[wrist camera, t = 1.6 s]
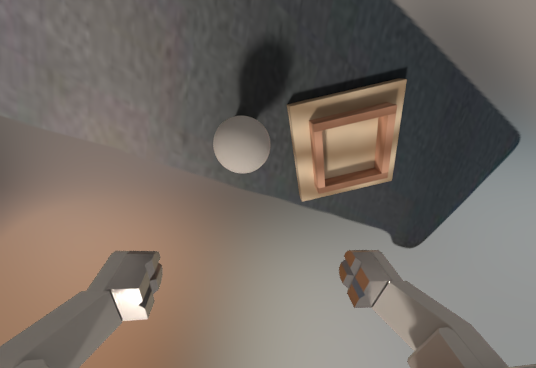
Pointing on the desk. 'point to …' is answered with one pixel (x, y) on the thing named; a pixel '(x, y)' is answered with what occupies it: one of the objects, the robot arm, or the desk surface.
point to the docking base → (346, 138)
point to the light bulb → (241, 144)
